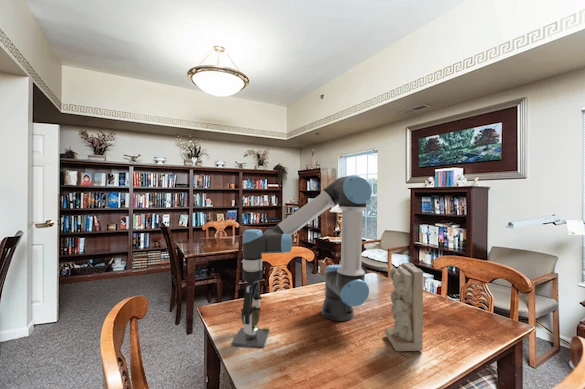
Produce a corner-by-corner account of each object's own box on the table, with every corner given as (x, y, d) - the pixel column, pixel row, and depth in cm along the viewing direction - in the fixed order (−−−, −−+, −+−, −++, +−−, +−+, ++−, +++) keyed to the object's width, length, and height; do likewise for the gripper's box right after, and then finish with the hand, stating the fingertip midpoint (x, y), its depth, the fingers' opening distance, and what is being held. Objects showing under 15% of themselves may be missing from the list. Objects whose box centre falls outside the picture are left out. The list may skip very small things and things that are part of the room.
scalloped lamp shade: (256, 334, 100) (256, 311, 102) (237, 332, 102) (238, 309, 103) (262, 327, 108) (263, 306, 109) (244, 326, 109) (245, 305, 110)
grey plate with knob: (269, 331, 114) (269, 321, 114) (263, 347, 102) (264, 336, 102) (241, 330, 115) (241, 320, 115) (232, 345, 103) (232, 334, 103)
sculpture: (384, 335, 112) (384, 260, 112) (410, 335, 112) (410, 261, 112) (395, 353, 99) (395, 269, 99) (423, 353, 99) (424, 269, 99)
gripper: (250, 261, 122) (250, 309, 122) (233, 278, 97) (233, 339, 97) (267, 261, 121) (267, 310, 121) (254, 279, 96) (254, 340, 96)
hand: (252, 323), depth 109 cm, fingers open, 13 cm apart
